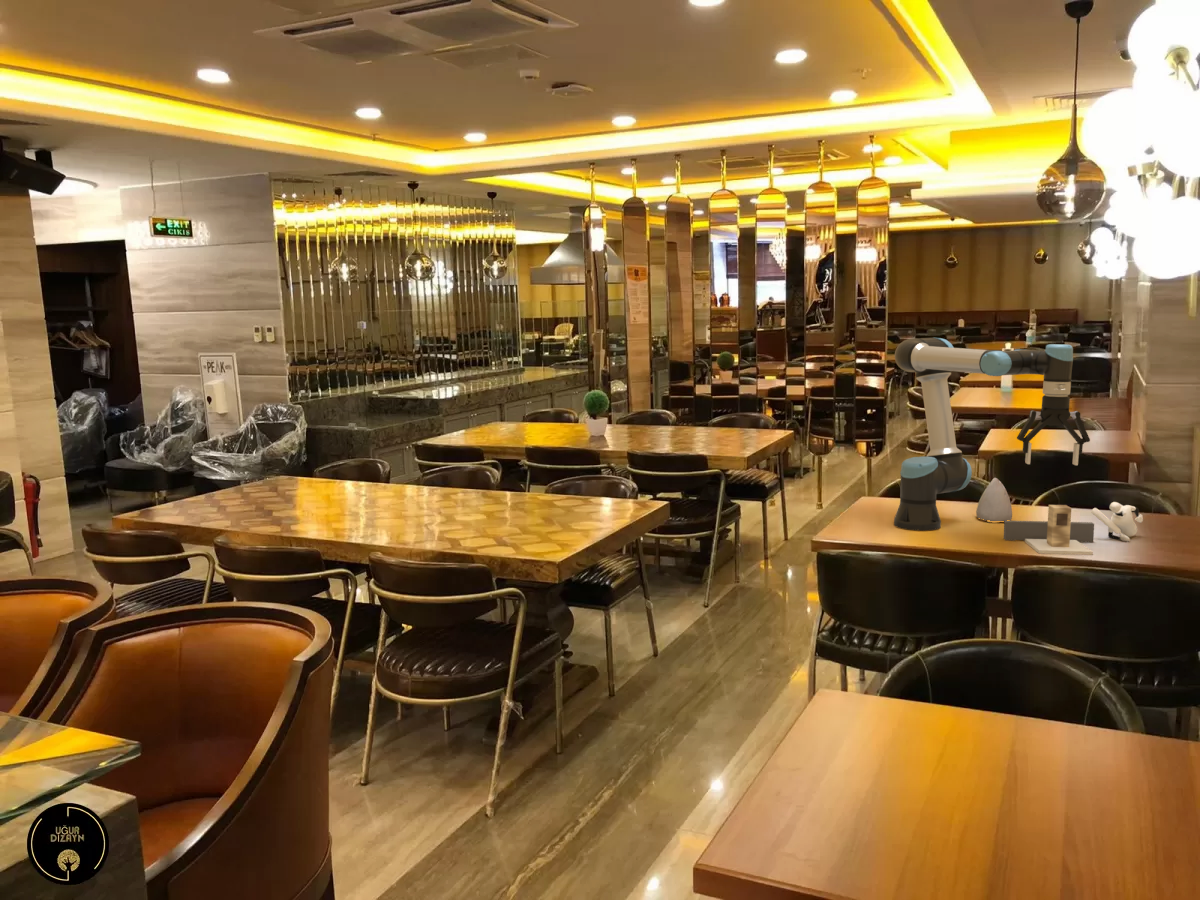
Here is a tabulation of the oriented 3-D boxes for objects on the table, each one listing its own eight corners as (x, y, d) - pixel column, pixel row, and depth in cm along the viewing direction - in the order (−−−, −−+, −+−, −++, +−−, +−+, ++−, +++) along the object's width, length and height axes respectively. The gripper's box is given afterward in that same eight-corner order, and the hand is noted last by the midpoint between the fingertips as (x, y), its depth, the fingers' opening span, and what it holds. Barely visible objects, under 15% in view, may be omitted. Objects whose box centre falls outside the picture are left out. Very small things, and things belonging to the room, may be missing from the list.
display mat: (1038, 553, 273) (1039, 550, 273) (1024, 541, 287) (1025, 538, 287) (1092, 554, 270) (1092, 551, 270) (1075, 543, 285) (1076, 539, 285)
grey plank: (1005, 540, 290) (1006, 521, 289) (1003, 538, 292) (1004, 520, 291) (1093, 542, 285) (1094, 523, 284) (1090, 540, 287) (1092, 522, 286)
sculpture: (1020, 522, 316) (1022, 479, 313) (990, 524, 313) (992, 481, 311) (996, 515, 328) (998, 474, 326) (967, 517, 325) (969, 475, 323)
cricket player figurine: (1131, 554, 288) (1115, 527, 280) (1103, 539, 297) (1088, 513, 289) (1160, 525, 288) (1145, 497, 280) (1132, 512, 297) (1117, 484, 289)
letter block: (1051, 546, 276) (1053, 508, 275) (1046, 542, 282) (1048, 504, 280) (1069, 547, 276) (1071, 508, 274) (1064, 543, 281) (1066, 505, 279)
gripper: (1015, 395, 275) (1011, 465, 279) (1104, 397, 271) (1099, 467, 274) (1009, 393, 283) (1005, 461, 286) (1096, 394, 278) (1090, 463, 281)
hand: (1051, 464), depth 280 cm, fingers open, 13 cm apart
